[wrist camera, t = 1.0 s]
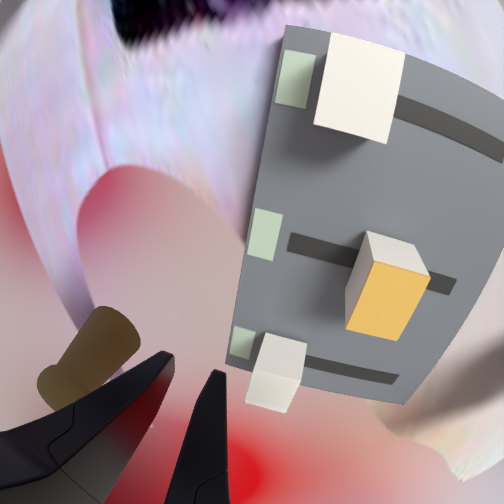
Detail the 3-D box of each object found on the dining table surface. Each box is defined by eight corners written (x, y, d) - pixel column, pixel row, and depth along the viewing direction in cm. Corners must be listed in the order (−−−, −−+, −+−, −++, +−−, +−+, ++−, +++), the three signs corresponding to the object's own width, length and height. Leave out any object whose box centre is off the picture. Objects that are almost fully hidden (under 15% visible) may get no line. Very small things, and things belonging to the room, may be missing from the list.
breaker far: (307, 343, 20) (301, 381, 17) (292, 377, 22) (285, 413, 19) (265, 332, 21) (253, 368, 18) (255, 367, 23) (244, 402, 20)
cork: (84, 312, 29) (19, 379, 19) (115, 299, 26) (40, 379, 17) (117, 355, 30) (63, 426, 21) (151, 348, 28) (93, 433, 18)
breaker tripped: (414, 244, 16) (430, 278, 12) (389, 301, 17) (396, 341, 14) (366, 230, 16) (374, 262, 13) (344, 289, 18) (345, 329, 15)
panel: (528, 122, 11) (542, 125, 10) (402, 391, 23) (403, 405, 22) (289, 31, 14) (285, 24, 12) (230, 351, 25) (224, 364, 24)
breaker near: (389, 64, 12) (405, 53, 9) (374, 137, 14) (386, 144, 11) (331, 49, 12) (331, 32, 9) (316, 121, 14) (313, 124, 11)
